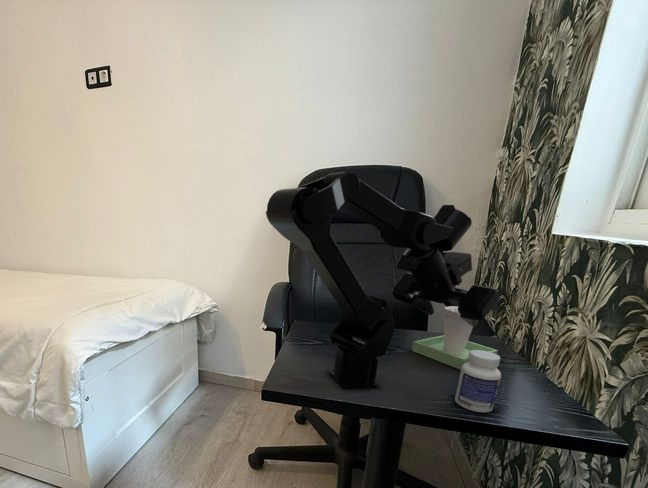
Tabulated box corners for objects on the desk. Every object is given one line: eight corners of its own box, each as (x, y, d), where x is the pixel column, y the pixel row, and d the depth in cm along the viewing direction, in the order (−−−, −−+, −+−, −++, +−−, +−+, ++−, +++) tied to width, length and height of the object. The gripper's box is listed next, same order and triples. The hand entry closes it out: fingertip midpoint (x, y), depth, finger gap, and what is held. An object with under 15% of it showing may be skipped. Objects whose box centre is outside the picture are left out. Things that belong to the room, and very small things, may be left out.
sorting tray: (461, 370, 71) (463, 359, 71) (411, 350, 81) (413, 341, 80) (495, 360, 77) (498, 350, 76) (445, 343, 86) (447, 334, 86)
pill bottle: (499, 415, 55) (513, 362, 53) (462, 411, 56) (474, 359, 54) (483, 398, 60) (495, 349, 58) (449, 395, 61) (459, 346, 59)
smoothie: (475, 354, 78) (489, 291, 74) (461, 360, 74) (476, 294, 70) (444, 344, 83) (456, 285, 79) (430, 350, 79) (442, 288, 75)
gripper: (507, 242, 60) (525, 300, 68) (410, 235, 76) (433, 282, 84) (469, 291, 59) (492, 344, 67) (378, 273, 75) (405, 318, 83)
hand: (452, 319), depth 75 cm, fingers open, 9 cm apart
